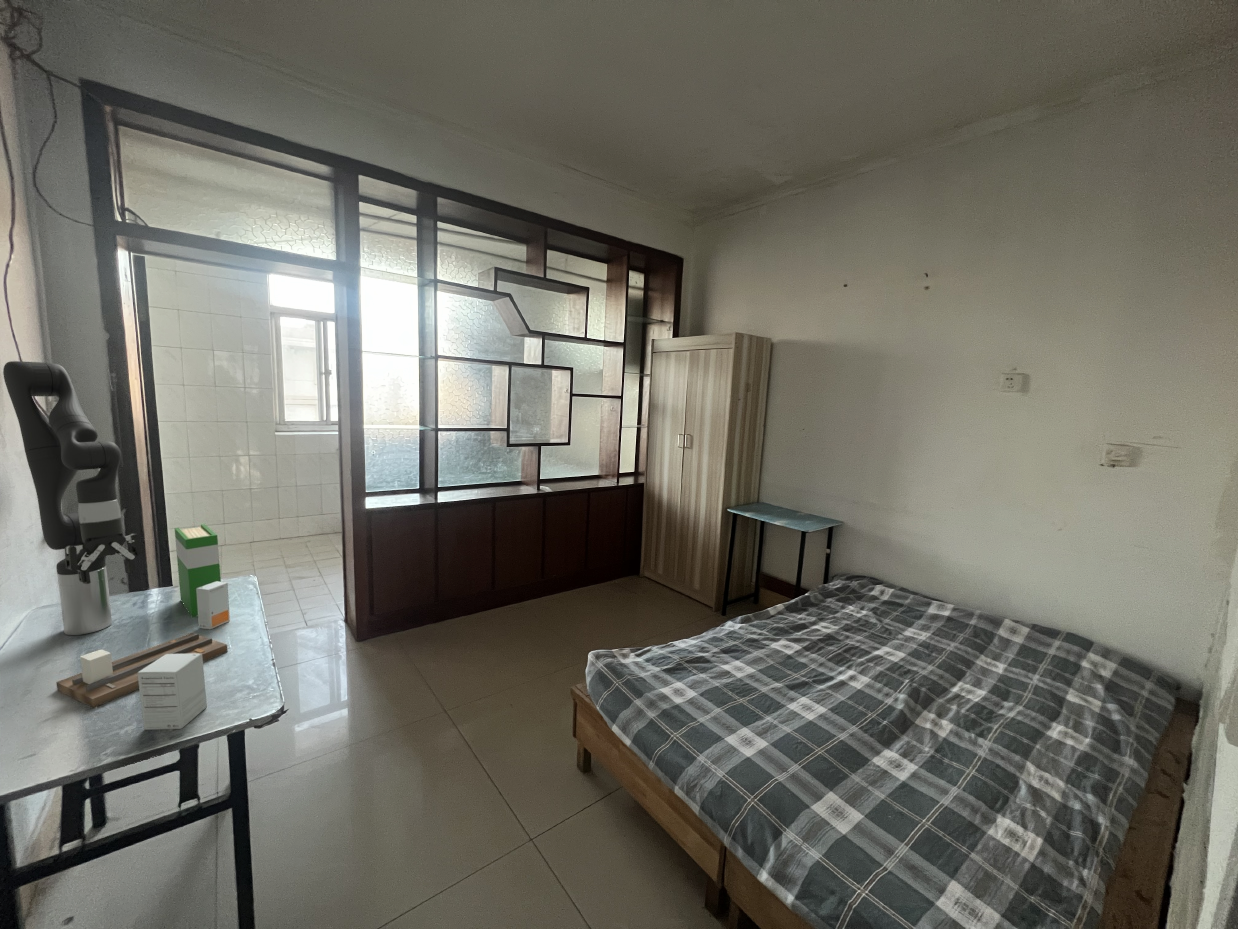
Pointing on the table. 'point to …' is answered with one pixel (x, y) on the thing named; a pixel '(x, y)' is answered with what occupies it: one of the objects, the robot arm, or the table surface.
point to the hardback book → (196, 562)
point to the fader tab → (96, 666)
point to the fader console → (136, 669)
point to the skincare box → (213, 605)
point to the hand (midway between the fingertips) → (108, 578)
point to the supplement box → (172, 691)
